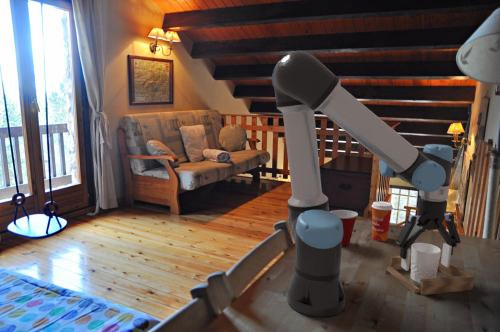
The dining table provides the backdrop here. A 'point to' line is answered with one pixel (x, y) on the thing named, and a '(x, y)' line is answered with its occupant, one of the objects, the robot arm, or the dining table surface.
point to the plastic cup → (346, 224)
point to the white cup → (424, 261)
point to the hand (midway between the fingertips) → (425, 267)
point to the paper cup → (381, 220)
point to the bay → (452, 283)
